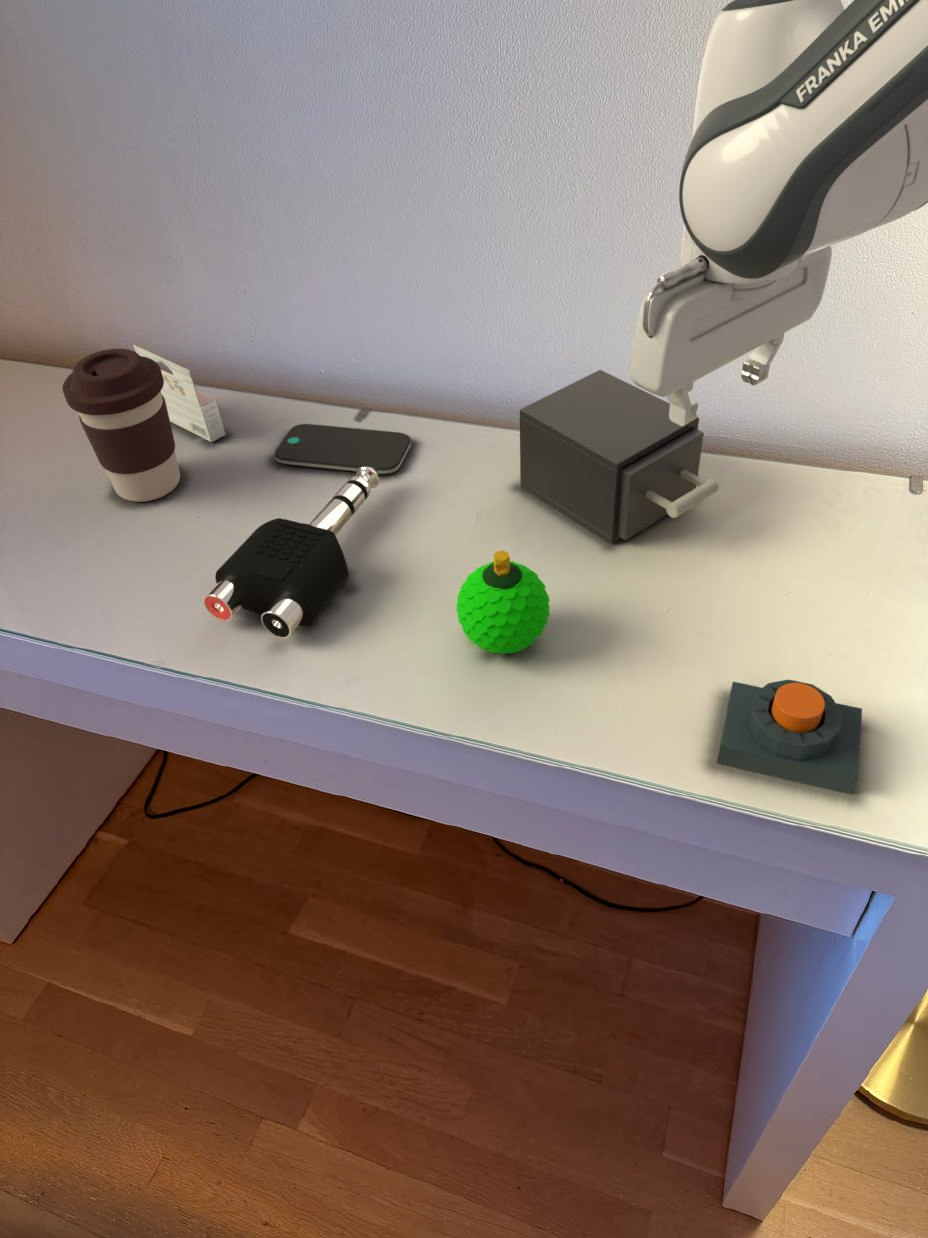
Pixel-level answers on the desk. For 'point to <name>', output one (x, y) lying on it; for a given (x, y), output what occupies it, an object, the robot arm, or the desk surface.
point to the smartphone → (343, 448)
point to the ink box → (187, 401)
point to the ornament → (503, 606)
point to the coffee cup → (126, 421)
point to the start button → (798, 707)
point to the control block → (791, 740)
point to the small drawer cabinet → (590, 446)
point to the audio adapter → (290, 564)
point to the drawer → (662, 484)
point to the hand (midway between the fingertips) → (718, 400)
